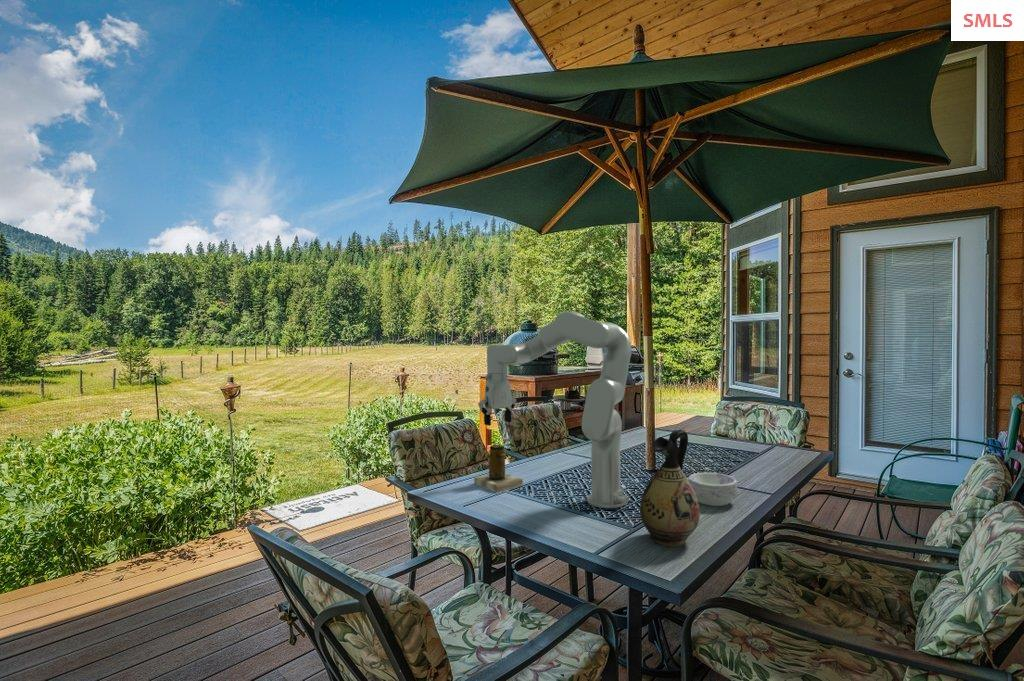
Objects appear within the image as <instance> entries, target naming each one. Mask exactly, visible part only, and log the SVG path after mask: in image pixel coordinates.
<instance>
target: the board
mask: <svg viewBox="0 0 1024 681" xmlns="http://www.w3.org/2000/svg"><path fill="white" fill-rule="evenodd" d="M487 476H489V473H487V474H483V475H479V476H474V478H473V482H474V483H473V484H474V485H476V484H477V485H476V486H478V485H479V486H478V487H481V486H482V488H484V487H485V488H484V489H486V488H487V490H489V489H490V490H489V491H491V490H493V491H492V492H494V491H495V493H496V492H498V493H501V492H500V491H502V492H505V491H504V490H506V491H508V489H509V490H512V489H511V488H513V489H516V488H515V487H517V488H520V487H519V486H521V487H523V486H524V484H523V483H524V482H523V481H524V480H523V478H520V477H518V476H517V477H516V476H513V475H511V474H508V473H505V476H507V477H510V478H513V479H510V480H507V481H501V482H496V481H493V480H489V479H487V478H484V477H487Z"/></svg>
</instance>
